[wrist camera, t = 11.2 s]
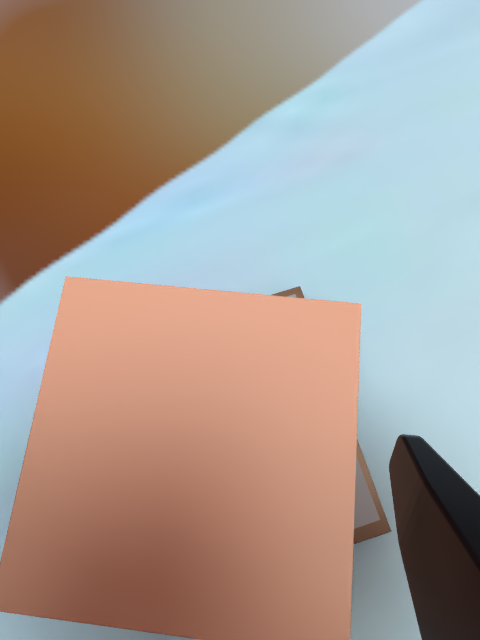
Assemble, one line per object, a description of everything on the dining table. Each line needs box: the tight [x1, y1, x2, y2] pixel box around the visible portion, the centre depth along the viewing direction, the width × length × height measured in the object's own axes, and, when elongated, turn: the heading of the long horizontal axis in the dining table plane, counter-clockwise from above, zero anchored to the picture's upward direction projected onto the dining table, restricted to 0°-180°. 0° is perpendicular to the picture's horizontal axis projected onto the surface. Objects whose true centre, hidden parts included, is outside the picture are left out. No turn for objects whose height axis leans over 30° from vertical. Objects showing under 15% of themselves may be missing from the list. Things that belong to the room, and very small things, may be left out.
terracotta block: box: [0, 277, 361, 640], centre depth 13 cm, size 7×7×9 cm
